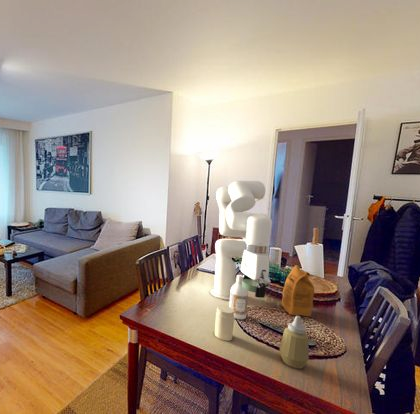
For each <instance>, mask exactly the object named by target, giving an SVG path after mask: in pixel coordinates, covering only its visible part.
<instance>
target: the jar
mask: <svg viewBox="0 0 420 414" xmlns="http://www.w3.org/2000/svg"><path fill="white" fill-rule="evenodd" d="M214 322H215V323H214V324H215V325H214V336H215V337H216V338H218V339H219V340H221V341H231V340H233V336H234V335H233V334H234V322H235V318H234V310H233V309H232V308H230V307H229V306H227V305H222V304H221V305H217V306H216V311H215V321H214Z"/></svg>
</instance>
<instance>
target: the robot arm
mask: <svg viewBox="0 0 420 414" xmlns="http://www.w3.org/2000/svg"><path fill="white" fill-rule="evenodd" d="M265 195H266V186H265V184H264V183H263V182H262V181H259V180H235V181H232V182H231V183H230V184H229V185H228V186H221V187H219V188H218V189H217V190H216V194H215V196H216V197H215V198H216V202H217V206H218V209H219V218H218V219H219V221H218V231H219V234H220V235H221V236H222V237H223V236H224V237H229V238H220V239H217V240H216V241H215V244H214V249H215V270H214V282H213V288H212V289H210V294H211V295H212V296H213V297H215V298H218V299H221V300H225V301H230V291H231V288H232V286H233V285H234V284H235V283H236V275H237V265H236V262H235V261H234V260H233V259H232V258H238V259H241V265H240V271H241V273H242V274H241V275H242V276H243V279H253V280H256V284H257V287H256V290H255V292H254V297H255V298H257V299H258V298H259V299H262V298H263V299H264V298H265V297H266V289H267V288H268V287H269V285H270V284H271V279H270V277H269V275H270V257H269V255H270V246H271V237H272V228H273V227H272V226H273V220H272V218H271V217H269V216H268V215H267V214H266V213H263V212H247V211H249V210H251V209H253V208H254V207H255V205H256V202H258V201H261V200H262V199H263V198H264V197H265ZM230 237H232V238H230ZM234 238H235V239H234ZM236 238H242V239H236ZM259 281H261V282H262V283H261V284H260V282H259Z"/></svg>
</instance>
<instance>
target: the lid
mask: <svg viewBox="0 0 420 414" xmlns="http://www.w3.org/2000/svg"><path fill="white" fill-rule="evenodd" d="M259 282H260V284H261V283H262V281H259ZM256 287H257V284H256V280H253V279H243V280H242V288H244V289H245V290H247V291H248V292H251V293H255V290H256Z"/></svg>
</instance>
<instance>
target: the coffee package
mask: <svg viewBox="0 0 420 414" xmlns="http://www.w3.org/2000/svg"><path fill="white" fill-rule="evenodd" d="M309 276H311V273H310V272H308V271H305V270H302V269H301V267H300V266H299V265H298V264H295V265H294V267H293V268H292V269H291V271H290V272H289V274H287V277H286V279H285V283H284V285H283V290H282V299H281V307H283V309H284V311H285V312H287V314H289V315H291V316H303V317H312V311H313V307H314V295H315V286H314V285H313V283H312V281H311V280H310V278H309Z"/></svg>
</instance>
